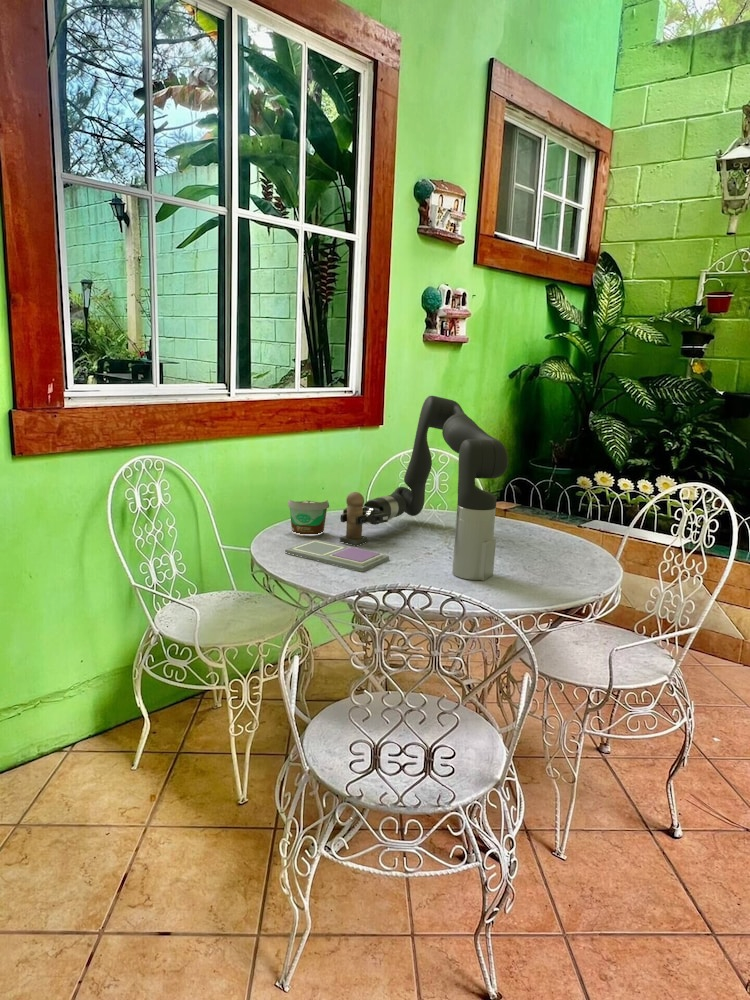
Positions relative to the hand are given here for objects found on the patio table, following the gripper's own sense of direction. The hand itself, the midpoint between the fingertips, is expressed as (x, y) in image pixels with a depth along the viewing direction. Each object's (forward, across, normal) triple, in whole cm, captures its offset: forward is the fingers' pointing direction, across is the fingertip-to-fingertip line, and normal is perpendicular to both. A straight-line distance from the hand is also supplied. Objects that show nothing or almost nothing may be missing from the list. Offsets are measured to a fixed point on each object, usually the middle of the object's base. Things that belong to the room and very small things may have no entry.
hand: (349, 519), depth 178 cm
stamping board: (+11, +4, +7) cm, 14 cm away
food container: (-1, -15, +7) cm, 17 cm away
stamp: (-3, 0, +7) cm, 8 cm away
